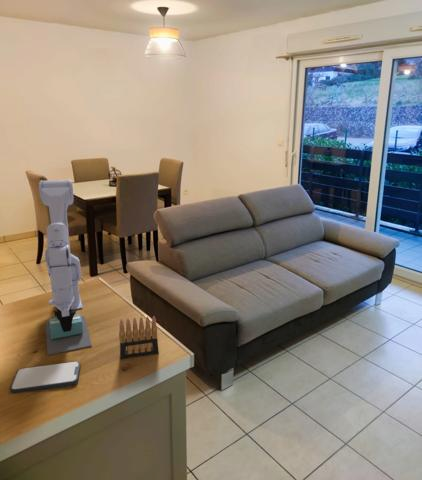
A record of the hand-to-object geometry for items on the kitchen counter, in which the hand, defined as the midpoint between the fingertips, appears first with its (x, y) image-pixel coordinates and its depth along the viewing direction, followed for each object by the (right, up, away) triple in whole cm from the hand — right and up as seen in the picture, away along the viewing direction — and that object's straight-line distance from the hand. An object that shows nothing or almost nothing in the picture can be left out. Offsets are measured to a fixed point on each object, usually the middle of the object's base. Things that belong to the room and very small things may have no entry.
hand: (66, 326), depth 117 cm
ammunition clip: (+24, -7, -8) cm, 26 cm away
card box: (0, -2, +1) cm, 2 cm away
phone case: (+2, -10, -18) cm, 20 cm away
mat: (0, -3, +1) cm, 3 cm away
